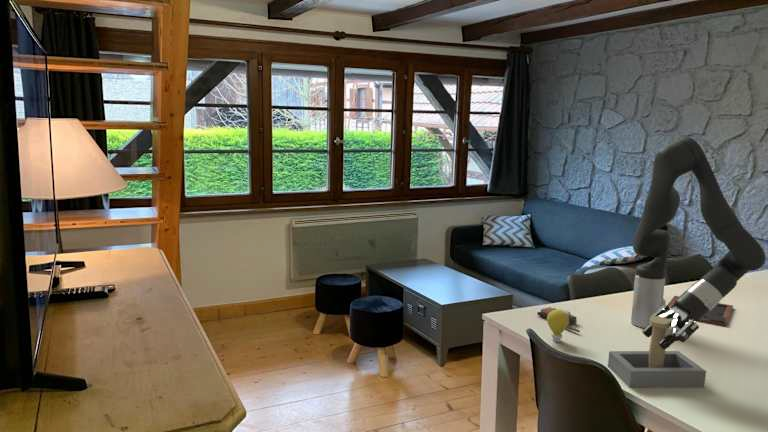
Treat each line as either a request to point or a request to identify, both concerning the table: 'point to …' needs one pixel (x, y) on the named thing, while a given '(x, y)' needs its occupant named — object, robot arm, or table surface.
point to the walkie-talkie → (572, 318)
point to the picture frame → (713, 313)
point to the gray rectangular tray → (656, 370)
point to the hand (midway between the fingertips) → (652, 340)
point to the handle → (657, 341)
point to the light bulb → (557, 323)
